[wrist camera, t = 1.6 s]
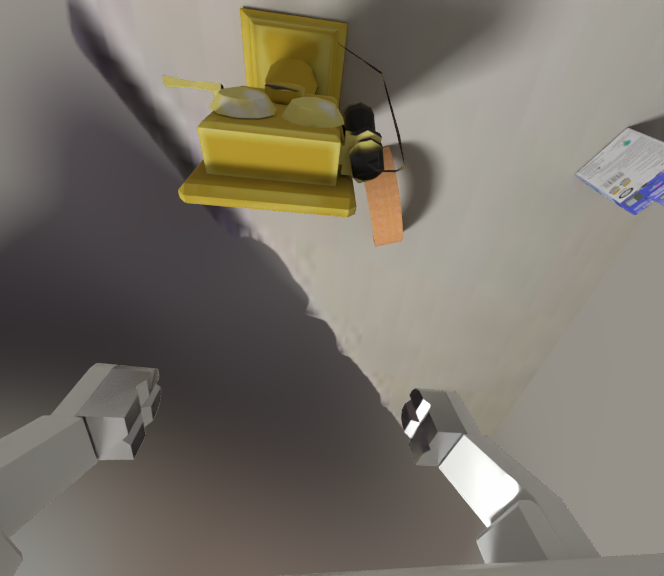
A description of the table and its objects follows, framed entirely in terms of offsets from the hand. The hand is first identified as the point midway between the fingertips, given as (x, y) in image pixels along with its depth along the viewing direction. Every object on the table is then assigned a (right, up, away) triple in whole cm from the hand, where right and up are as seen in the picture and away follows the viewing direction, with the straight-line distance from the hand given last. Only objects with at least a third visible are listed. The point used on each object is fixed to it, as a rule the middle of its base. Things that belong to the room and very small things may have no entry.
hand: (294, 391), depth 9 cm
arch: (+11, +23, +51) cm, 57 cm away
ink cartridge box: (+55, +29, +46) cm, 77 cm away
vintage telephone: (-4, +37, +36) cm, 52 cm away
